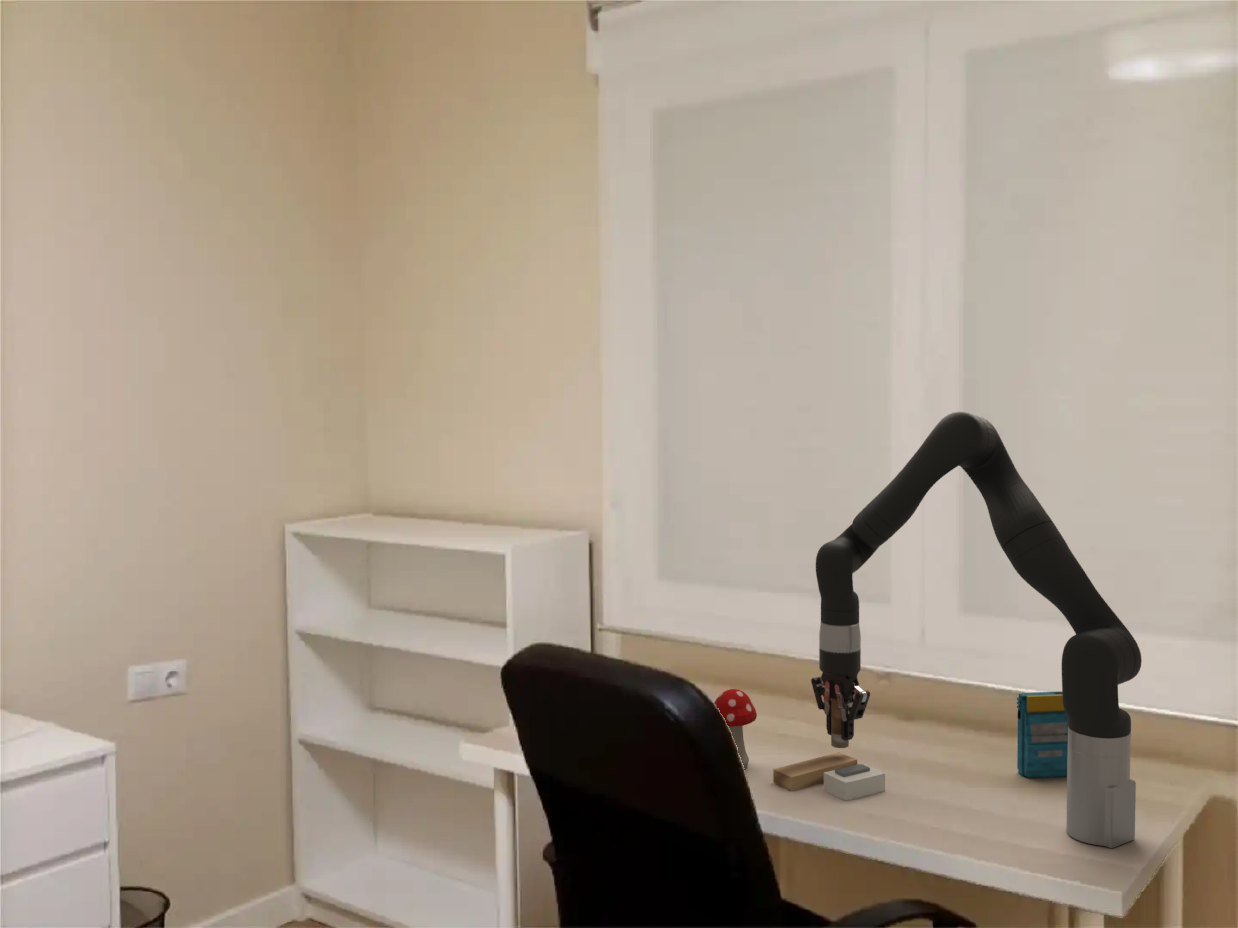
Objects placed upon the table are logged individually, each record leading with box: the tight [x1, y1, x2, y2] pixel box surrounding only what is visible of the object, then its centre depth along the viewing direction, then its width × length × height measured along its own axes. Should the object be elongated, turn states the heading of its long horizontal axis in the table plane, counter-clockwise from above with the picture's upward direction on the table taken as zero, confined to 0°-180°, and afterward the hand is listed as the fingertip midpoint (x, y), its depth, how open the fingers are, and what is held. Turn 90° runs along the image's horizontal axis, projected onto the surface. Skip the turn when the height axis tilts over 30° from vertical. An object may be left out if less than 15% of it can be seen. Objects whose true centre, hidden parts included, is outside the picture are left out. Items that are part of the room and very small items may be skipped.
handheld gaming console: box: [1016, 690, 1068, 779], centre depth 208 cm, size 10×4×15 cm, turn 94°
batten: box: [772, 752, 858, 791], centre depth 210 cm, size 5×16×2 cm, turn 122°
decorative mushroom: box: [713, 688, 758, 770], centre depth 215 cm, size 10×9×15 cm
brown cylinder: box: [830, 697, 850, 749], centre depth 212 cm, size 3×3×9 cm
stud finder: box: [823, 763, 886, 802], centre depth 203 cm, size 6×9×4 cm, turn 119°
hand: (839, 736), depth 213 cm, fingers closed on brown cylinder, 3 cm apart
